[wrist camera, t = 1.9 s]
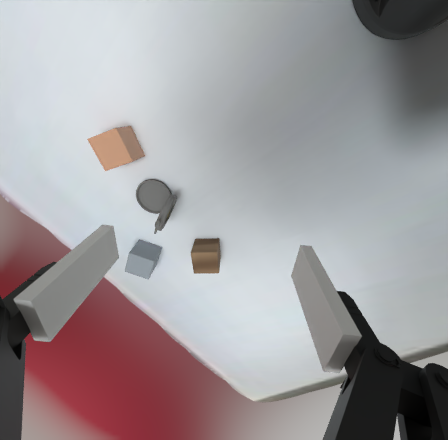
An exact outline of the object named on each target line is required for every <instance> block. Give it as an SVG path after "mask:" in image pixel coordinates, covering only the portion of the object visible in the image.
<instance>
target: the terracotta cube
mask: <svg viewBox="0 0 448 440" xmlns="http://www.w3.org/2000/svg"><path fill="white" fill-rule="evenodd" d="M87 140H88V141H89V143H90V145H91V147H92V148H93V150H94V152H95V154H96V155H97V157H98V159H99V161H100V162H101V164H102V166H103V168H104V170H105V171H107V170H110V169H113V168H116V167H119V166H121V165H124V164H127V163H130V162H133V161H135V160H137V159H139V158H141V157H144V156H145V154H144V152H143V150H142V148H141V146H140V144H139V142H138V140H137V137H136V135H135V133H134V131H133V129H132V127H131V126H128V127H120V128H114V129H112V130H109V131H107V132H104V133H102V134H99V135H97V136H94V137H91V138H89V139H87Z"/></svg>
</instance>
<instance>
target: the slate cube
mask: <svg viewBox="0 0 448 440" xmlns="http://www.w3.org/2000/svg"><path fill="white" fill-rule="evenodd" d="M161 249H162V247H160V246H157V245H154V244H151V243H149V242H146V241H143V240H140V239H139V241H138V242H137V243H136V245H135V246H134V247H133V248H132V250H131V251H130V252H129V255H128V260H127V264H126V268H125V272H128V273H131V274H134V275H137V276H140V277H143V278H146V279H149V278H150V276H151V274H152V272H153V270H154V268H155V266H156V265H157V262H158V259H159V256H160V252H161Z"/></svg>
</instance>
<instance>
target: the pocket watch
mask: <svg viewBox="0 0 448 440" xmlns="http://www.w3.org/2000/svg"><path fill="white" fill-rule="evenodd" d="M136 198H137V201H138V203H139V204H140V206H141V207H142V208H143V209H144V210H146V211H148V212H150V213H155V214H158V213H160V214H159V217H158V219H157V221H156V223H155V227H156V228H155V232H154V233H155V234H156V232H157V230H160V231H161V230H162V229H163V228H164V226H165V224H166V223H167V221H168V219H169V217H170V215H171V212H172V210H173V208H174V205H175V202H176V197H175V196H174V195H171V192H170V191H169V189H168V188H167V186H166V185H164V184H163V183H162V182H160V181H157V180H146V181H144V182H142V183H141V184H140V185H139V186H138V188H137V190H136Z"/></svg>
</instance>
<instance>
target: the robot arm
mask: <svg viewBox="0 0 448 440" xmlns="http://www.w3.org/2000/svg"><path fill="white" fill-rule="evenodd" d="M353 2H354V6H355V9H356V12H357V14H358V16H359V18H360V20H361V21H362V23H363V24H364V25H365V26H366V27H367V28H368V29H369V30H370V31H371V32H373V33H374V34H376V35H378V36H380V37H383V38H387V39H404V38H409V37H412V36H415V35H418V34H420V33H422V32H425V31H427V30H429V29H432V28H434V27H436V26H438V25H439V24H441V23H443V22H444V21H446V20H448V0H353ZM118 258H119V255H118V250H117V244H116V238H115V232H114V226H110V225H102V226H100V227H99V228H98V229H97V230H96V231H94V232H93V233H92V234H91V235H90V236H88V237H87V238H86V239H85V240H84V241H82V242H81V243H80V244H79V245H78V246H76V247H75V248H74V249H73V250H72V251H70V253H68V254H67V255H66V256H65V257H63V258H62V259H61V260H60V261H58V262H53V263H51V264H49V265H47V266H45V267H43V268H41V269H40V270H39V271H38V272H36V273H35V274H34V276H31V277H30V278H29V279H28V280H27V281H25V282H24V283H23V284H21V285H20V286H19V287H18V288H16V289H15V290H14V291H13V292H11V293H10V294H9V295H8V296H6V297H5V298H4V299H2V298H1V297H0V440H21V431H22V411H23V390H24V370H25V351H26V343H25V340H24V338H25V337H26V336H27V335H28V334H29V333H31V335H32V337H33V339H34V340H37V341H46V342H51V340H52V339H53V338H54V337H55V335H56V334H57V333H58V332H59V330H60V329H61V328H62V327H63V326H64V324H65V323H66V322H67V321H68V319H69V318H70V317H71V316H72V314H73V313H74V312H75V311H76V310H77V308H78V307H79V306H80V304H81V303H82V302H83V301H84V300H85V298H86V297H87V296H88V295H89V293H90V292H91V291H92V290H93V289H94V288H95V286H96V285H97V284H98V283H99V281H100V280H101V279H102V278H103V276H104V275H105V274H106V273H107V272H108V270H109V269H110V268H111V267H112V265H113V264H114V263H115V262H116V261H117V259H118ZM291 276H292V279H293V282H294V285H295V288H296V291H297V294H298V297H299V300H300V303H301V306H302V309H303V312H304V315H305V318H306V321H307V324H308V327H309V330H310V333H311V336H312V339H313V342H314V345H315V348H316V351H317V354H318V357H319V360H320V363H321V366H322V369H323V372H333V373H340V372H341V370H342V368H343V367H345V369H346V372H347V374H348V376H347V377H346V379H345V380H344V382H343V384H342V385H341V387H340V388H342V390H341V392H340V395H339V398H338V401H337V403H336V406H335V408H334V411H333V414H332V416H331V419H330V422H329V424H328V427H327V430H326V432H325V435H324V437H323V440H393V437H394V431H395V424H396V417H398V424H399V431H400V438H401V440H448V369H447V368H445V367H443V366H440V365H437V364H435V363H430V364H428V365H426V366H425V367H424V368H420V367H417V366H415V365H412V364H410V363H407V362H405V361H402V360H401V359H400V358H399V356H398V355H397V354H396V353H395V352H394V351H393V350H391V349H390V348H389V347H387V346H386V345H384V344H381V343H380V342H379V340H378V339H377V337H376V336H375V334H374V332H373V331H372V329H371V328H370V326H369V324H368V323H367V321H366V319H365V318H364V316H362V313H361V311H360V310H359V309H358V307H357V305H356V303H355V302H354V300H353V299H352V298H351V297H350V296H349V295H348V294H347V293H346V292H341V291H336V289H335V287H334V286H333V284H332V282H331V280H330V278H329V277H328V275H327V273H326V271H325V269H324V268H323V266H322V264H321V262H320V261H319V259H318V257H317V255H316V253H315V252H314V250H313V248H312V246H304V245H300V248H299V252H298V255H297V258H296V262H295V265H294V268H293V272H292V275H291Z"/></svg>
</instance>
